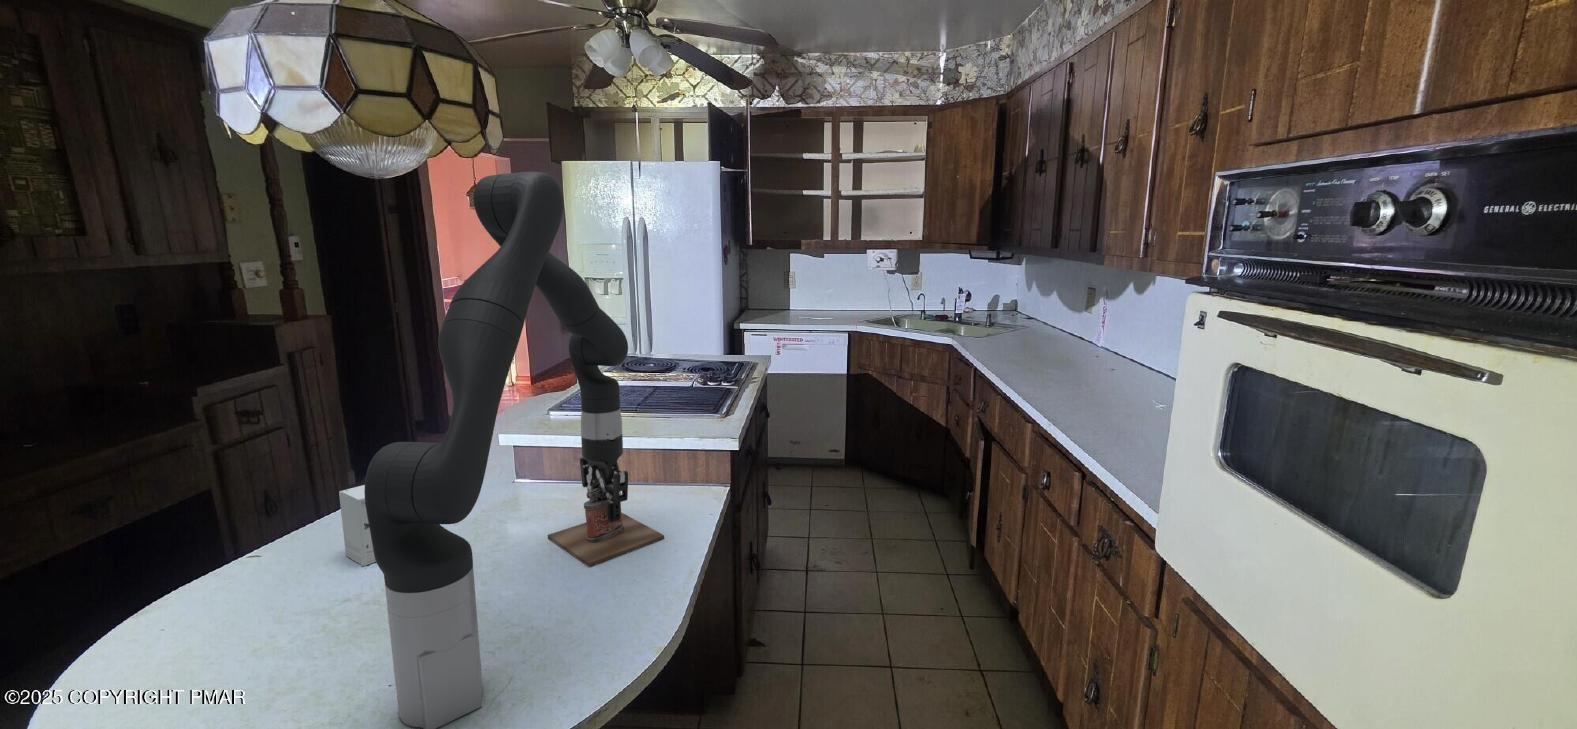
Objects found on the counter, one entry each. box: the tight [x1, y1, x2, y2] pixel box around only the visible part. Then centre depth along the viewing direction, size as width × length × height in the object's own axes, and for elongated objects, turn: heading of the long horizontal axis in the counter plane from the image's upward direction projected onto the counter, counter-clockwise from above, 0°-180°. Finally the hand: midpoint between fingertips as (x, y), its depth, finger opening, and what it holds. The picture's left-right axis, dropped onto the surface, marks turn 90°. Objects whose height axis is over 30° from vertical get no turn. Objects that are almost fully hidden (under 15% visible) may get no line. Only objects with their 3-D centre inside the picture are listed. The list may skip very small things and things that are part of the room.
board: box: [547, 511, 665, 568], centre depth 123 cm, size 16×16×1 cm
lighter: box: [583, 484, 624, 543], centre depth 122 cm, size 8×3×10 cm, turn 145°
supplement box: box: [338, 484, 376, 567], centre depth 115 cm, size 7×7×13 cm
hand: (605, 515), depth 122 cm, fingers open, 6 cm apart
